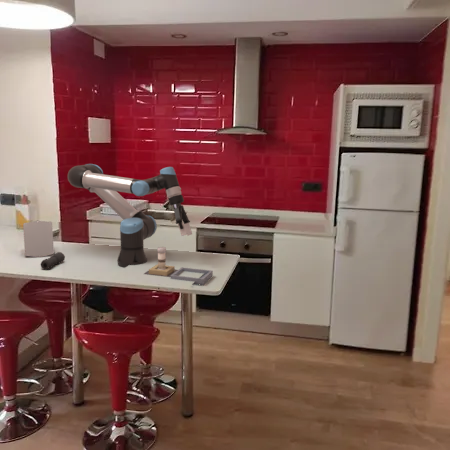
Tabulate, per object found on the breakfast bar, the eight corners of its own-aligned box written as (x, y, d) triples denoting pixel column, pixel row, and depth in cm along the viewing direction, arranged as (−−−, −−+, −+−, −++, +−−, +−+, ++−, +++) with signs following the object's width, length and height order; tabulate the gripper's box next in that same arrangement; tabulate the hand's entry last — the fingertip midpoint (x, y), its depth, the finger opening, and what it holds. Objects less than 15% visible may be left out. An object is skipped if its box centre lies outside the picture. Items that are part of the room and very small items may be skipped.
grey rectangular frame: (170, 281, 218) (170, 275, 217) (181, 273, 231) (181, 267, 231) (203, 285, 214) (203, 279, 213) (212, 276, 227) (212, 270, 226)
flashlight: (50, 270, 231) (49, 260, 230) (39, 270, 232) (39, 259, 230) (65, 262, 246) (64, 252, 244) (55, 261, 246) (55, 251, 245)
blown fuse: (156, 272, 226) (156, 248, 224) (159, 270, 230) (159, 246, 227) (163, 273, 225) (163, 249, 222) (167, 271, 229) (167, 247, 226)
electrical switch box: (53, 253, 270) (51, 218, 268) (54, 256, 256) (51, 219, 254) (26, 255, 264) (24, 219, 263) (25, 258, 251) (22, 221, 249)
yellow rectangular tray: (143, 276, 224) (143, 269, 223) (153, 269, 235) (153, 263, 235) (170, 280, 220) (170, 273, 219) (179, 272, 231) (179, 266, 231)
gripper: (176, 192, 231) (188, 233, 230) (186, 195, 256) (198, 232, 255) (162, 196, 232) (174, 237, 231) (174, 200, 257) (185, 237, 256)
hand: (187, 235), depth 243 cm, fingers open, 13 cm apart
